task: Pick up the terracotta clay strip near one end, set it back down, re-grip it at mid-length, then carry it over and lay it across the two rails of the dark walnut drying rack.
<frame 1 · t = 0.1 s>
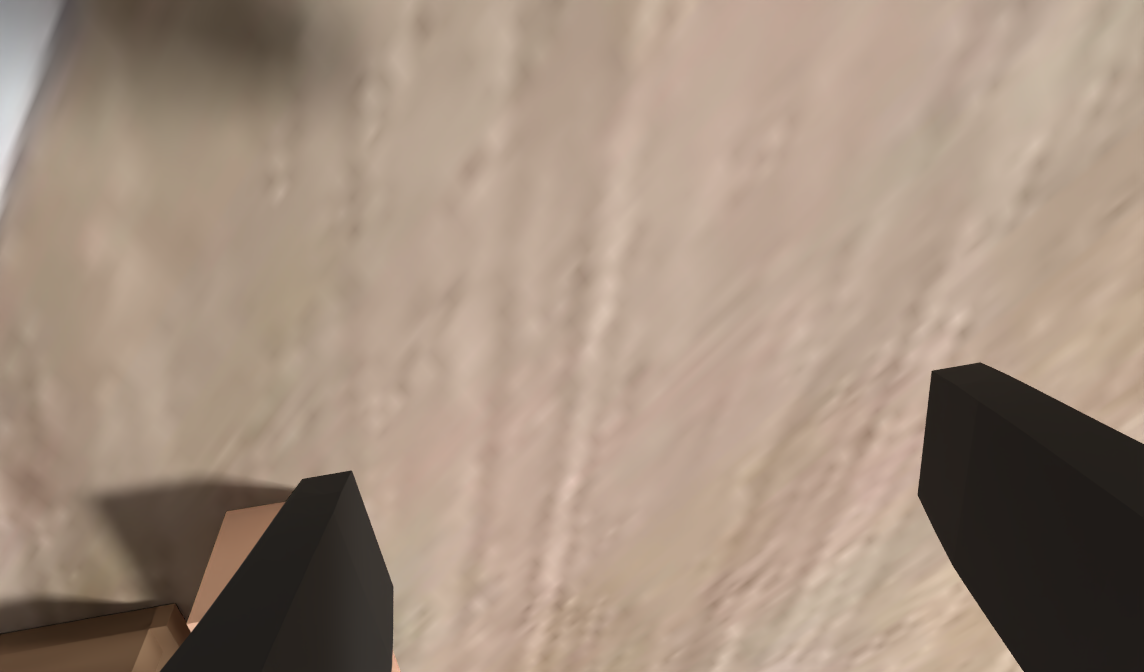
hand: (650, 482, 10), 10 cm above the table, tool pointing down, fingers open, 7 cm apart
clay strip: (332, 618, 26), on the table
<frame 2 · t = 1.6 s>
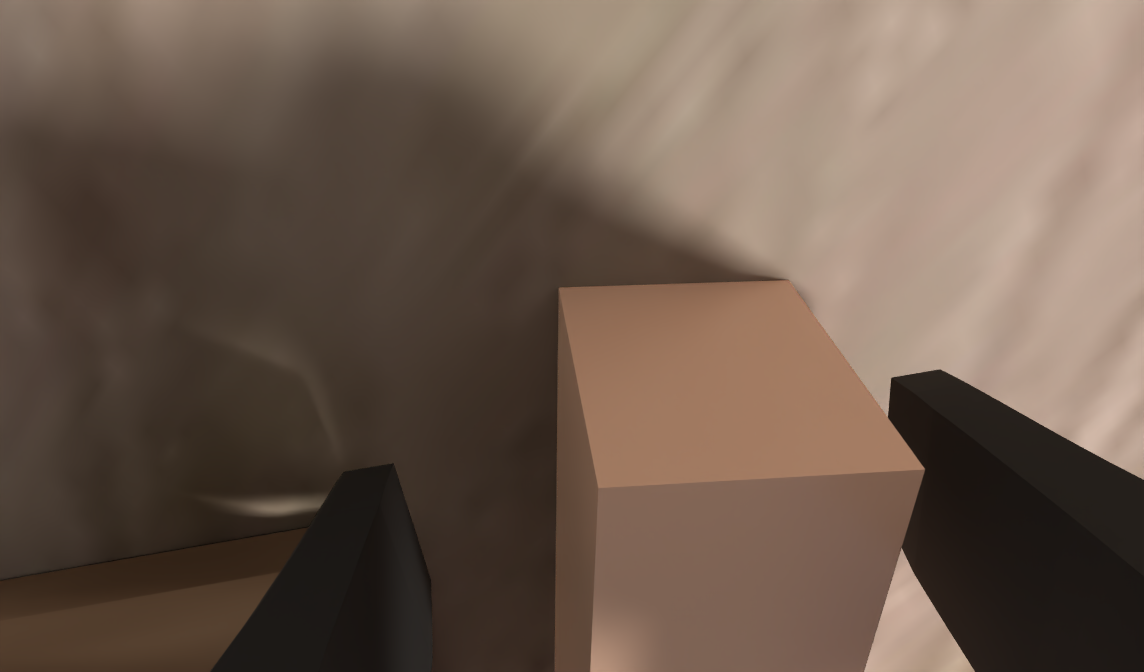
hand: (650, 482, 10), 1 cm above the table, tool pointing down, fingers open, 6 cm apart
clay strip: (647, 554, 13), on the table
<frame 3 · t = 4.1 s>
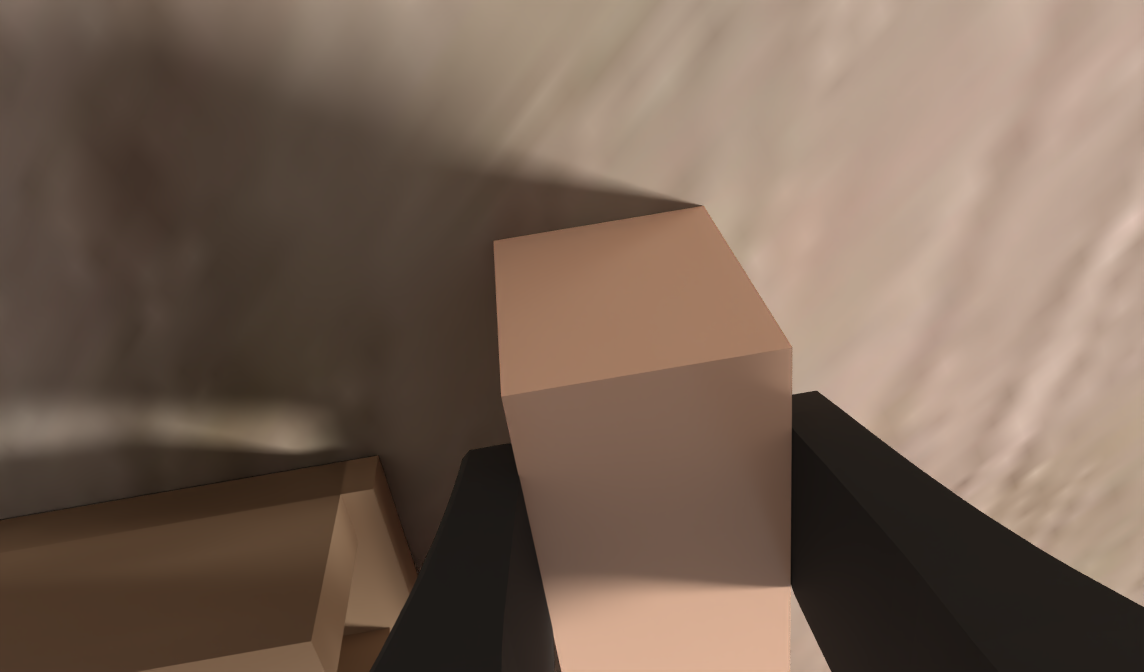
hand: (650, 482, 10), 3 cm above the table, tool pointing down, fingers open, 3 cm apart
clay strip: (630, 481, 14), on the table, touching gripper
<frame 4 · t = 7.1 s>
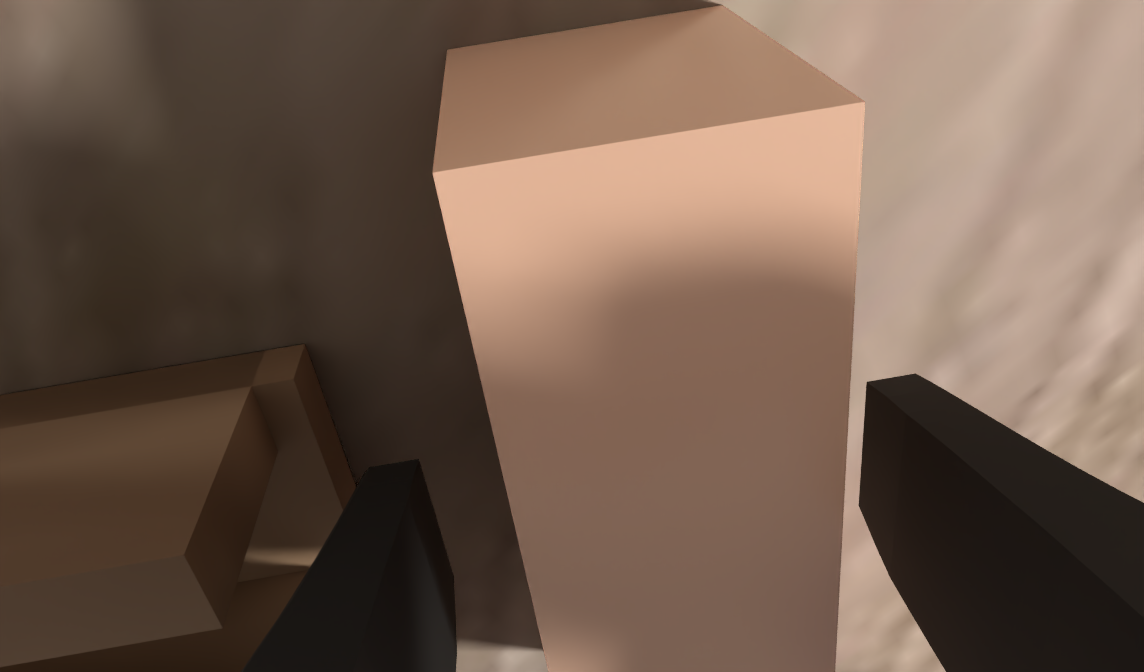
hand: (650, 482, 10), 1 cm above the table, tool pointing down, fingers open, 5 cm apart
clay strip: (627, 392, 12), on the table
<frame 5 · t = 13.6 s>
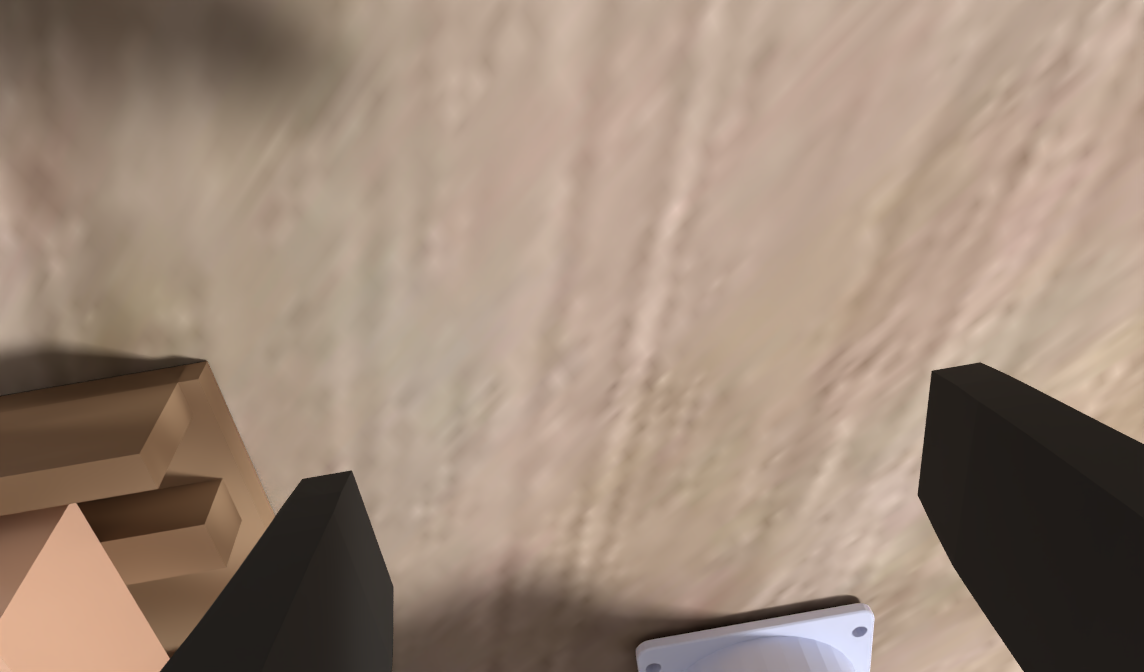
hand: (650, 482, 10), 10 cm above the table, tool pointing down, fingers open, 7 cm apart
rack: (140, 585, 24), on the table
clay strip: (100, 648, 22), point 2 cm above the table, touching rack
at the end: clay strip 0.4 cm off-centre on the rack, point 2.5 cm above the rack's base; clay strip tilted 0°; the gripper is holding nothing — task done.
